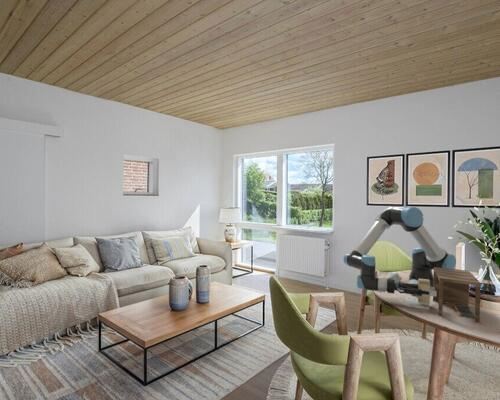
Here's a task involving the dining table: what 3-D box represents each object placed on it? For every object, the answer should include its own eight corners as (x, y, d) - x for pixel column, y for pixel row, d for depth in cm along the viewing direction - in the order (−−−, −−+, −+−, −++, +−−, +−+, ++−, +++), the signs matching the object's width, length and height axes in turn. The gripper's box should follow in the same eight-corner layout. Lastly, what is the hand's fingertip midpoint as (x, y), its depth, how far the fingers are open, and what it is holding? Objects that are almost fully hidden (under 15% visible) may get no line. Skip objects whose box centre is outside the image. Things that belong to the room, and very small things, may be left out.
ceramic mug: (408, 294, 175) (409, 281, 175) (407, 290, 183) (407, 278, 182) (428, 297, 171) (428, 284, 171) (426, 293, 179) (426, 280, 178)
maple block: (417, 300, 161) (418, 278, 160) (428, 302, 158) (429, 279, 158) (418, 303, 156) (419, 280, 156) (429, 305, 154) (430, 282, 154)
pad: (405, 299, 167) (405, 298, 167) (427, 302, 162) (427, 301, 162) (405, 305, 157) (405, 305, 157) (429, 309, 152) (429, 309, 152)
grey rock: (400, 288, 189) (405, 274, 192) (387, 280, 191) (393, 267, 194) (394, 288, 197) (399, 276, 200) (382, 281, 198) (387, 269, 201)
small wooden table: (432, 299, 166) (433, 267, 166) (467, 304, 159) (468, 270, 159) (438, 316, 144) (439, 278, 144) (479, 322, 137) (480, 282, 136)
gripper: (386, 287, 173) (433, 294, 163) (386, 297, 157) (437, 304, 147) (387, 275, 173) (433, 280, 163) (386, 283, 157) (438, 289, 147)
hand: (435, 292), depth 155 cm, fingers closed on maple block, 5 cm apart
